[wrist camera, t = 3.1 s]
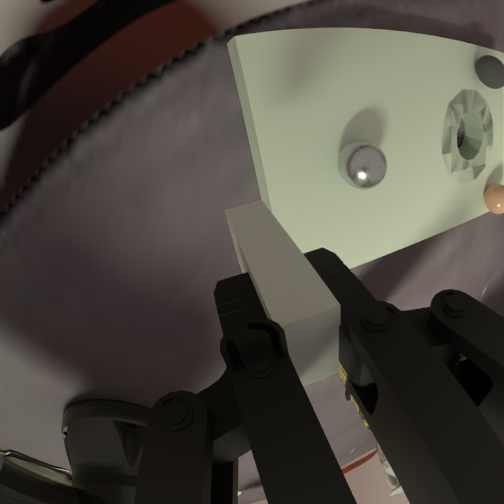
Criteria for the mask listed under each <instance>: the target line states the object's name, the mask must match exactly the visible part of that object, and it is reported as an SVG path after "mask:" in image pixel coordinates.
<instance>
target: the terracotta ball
mask: <svg viewBox="0 0 504 504" xmlns="http://www.w3.org/2000/svg"><path fill="white" fill-rule="evenodd" d="M484 200H485V204H486V206H487V208H488V209H489V210H490V211H491V212H492V213H494V214H502V213H504V186H503V185H501V184H498V183H495V184H492V185H490V186H489V187H488V188H487V189H486V191H485V195H484Z"/></svg>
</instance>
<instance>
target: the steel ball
mask: <svg viewBox="0 0 504 504" xmlns="http://www.w3.org/2000/svg"><path fill="white" fill-rule="evenodd" d="M338 169H339V172H340V175H341V177H342V178H343V179H344V181H345V182H346V183H347V184H349V185H350V186H352V187H354V188H356V189H361V190H367V189H371V188H374V187H376V186H377V185H379V184H380V183H381V182H382V181H383V179H384V177H385V175H386V173H387V159H386V156H385V154H384V152H383V151H382V149H381V148H380V147H379V146H378V145H376V144H375V143H373V142H371V141H368V140H355V141H352V142H350V143H348V144H347V145H346V146H345V147H344V148H343V149H342V150H341V152H340V154H339V158H338Z"/></svg>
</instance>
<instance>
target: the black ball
mask: <svg viewBox="0 0 504 504" xmlns="http://www.w3.org/2000/svg"><path fill="white" fill-rule="evenodd" d="M476 72H477V75H478V77H479V79H480V81H481V82H482V83H483V84H484V85H486V86H487V87H489V88H492V89H499V88H502V87H503V86H504V64H503V63H502V62H501V61H500V60H499V59H498V58H496V57H494V56H491V55H484V56H482V57H480V58H479V59H478V61H477V63H476Z"/></svg>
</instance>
